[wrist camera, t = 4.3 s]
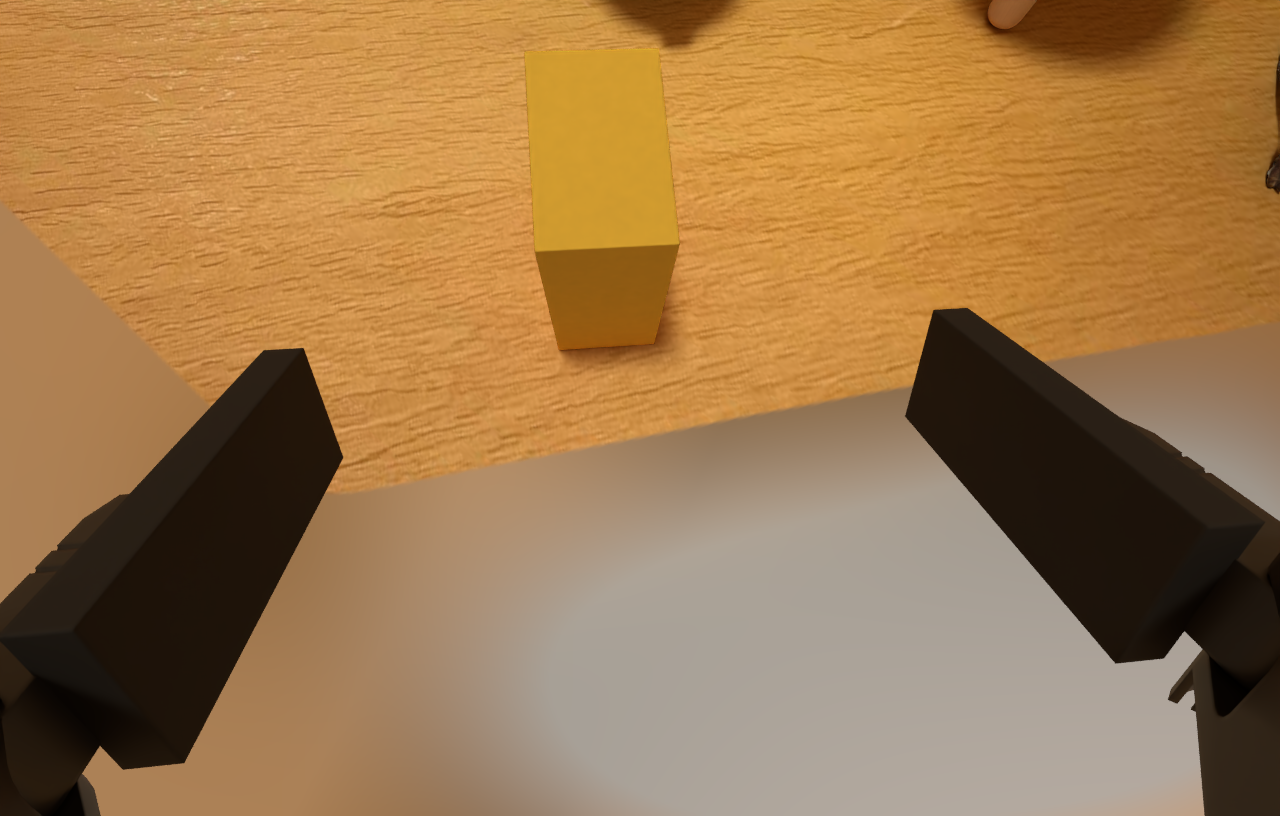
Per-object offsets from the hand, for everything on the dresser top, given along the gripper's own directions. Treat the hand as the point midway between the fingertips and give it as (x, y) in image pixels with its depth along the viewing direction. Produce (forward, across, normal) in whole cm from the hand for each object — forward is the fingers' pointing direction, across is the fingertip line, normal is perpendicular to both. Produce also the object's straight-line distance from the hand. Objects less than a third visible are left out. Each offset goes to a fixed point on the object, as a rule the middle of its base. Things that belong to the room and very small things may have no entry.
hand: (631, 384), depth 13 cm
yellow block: (+20, 0, -5) cm, 20 cm away
